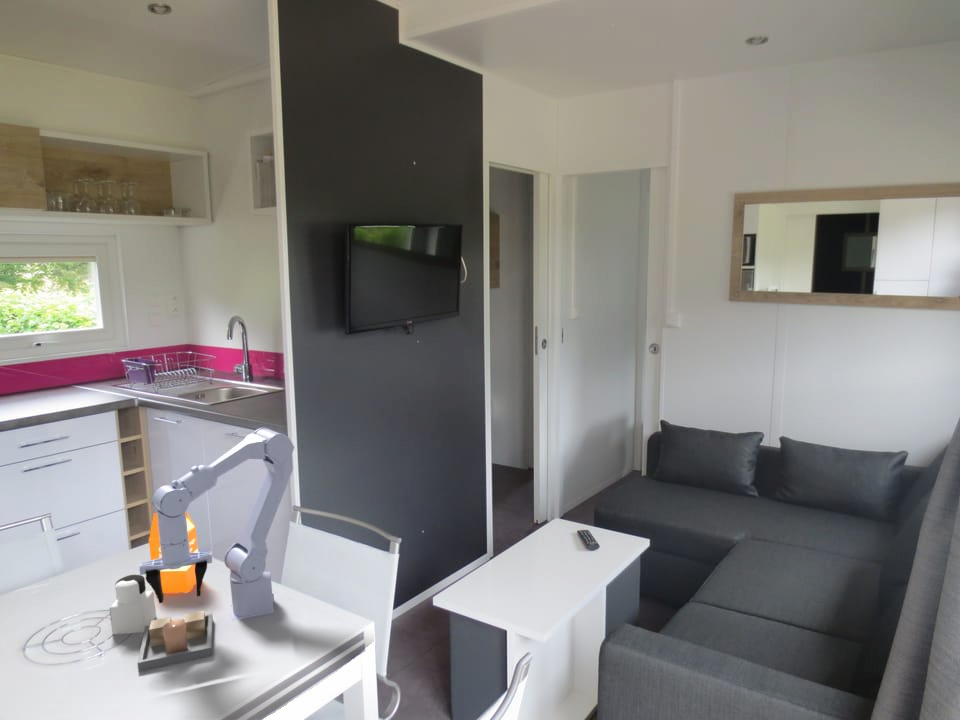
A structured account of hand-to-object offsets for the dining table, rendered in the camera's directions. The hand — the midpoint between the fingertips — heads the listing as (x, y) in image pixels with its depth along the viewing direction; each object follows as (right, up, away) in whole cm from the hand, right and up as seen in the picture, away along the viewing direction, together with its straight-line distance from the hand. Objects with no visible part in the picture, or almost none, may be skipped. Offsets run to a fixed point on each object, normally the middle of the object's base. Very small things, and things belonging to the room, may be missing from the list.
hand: (180, 597), depth 151 cm
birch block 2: (+3, -9, +2) cm, 9 cm away
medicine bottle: (-13, -9, +6) cm, 17 cm away
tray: (+1, -10, -3) cm, 10 cm away
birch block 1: (-4, -9, -1) cm, 10 cm away
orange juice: (-12, -6, +26) cm, 29 cm away
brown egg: (+2, -10, -5) cm, 11 cm away
